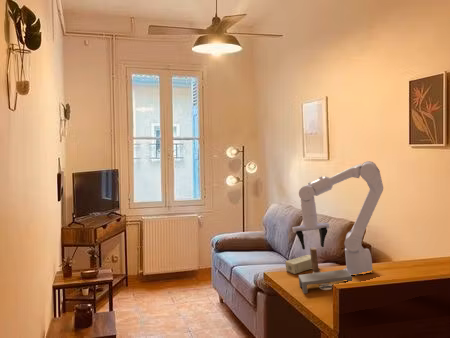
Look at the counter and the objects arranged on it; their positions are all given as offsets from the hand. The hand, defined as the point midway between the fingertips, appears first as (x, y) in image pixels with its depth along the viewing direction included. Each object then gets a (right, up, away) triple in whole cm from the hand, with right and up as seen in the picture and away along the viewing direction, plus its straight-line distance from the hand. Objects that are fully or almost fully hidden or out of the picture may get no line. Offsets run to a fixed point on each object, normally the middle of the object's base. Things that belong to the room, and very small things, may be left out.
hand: (312, 247), depth 175 cm
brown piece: (+1, -11, -4) cm, 11 cm away
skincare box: (-9, -9, +4) cm, 13 cm away
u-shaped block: (+2, -12, -16) cm, 19 cm away
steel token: (+2, -12, -17) cm, 20 cm away
